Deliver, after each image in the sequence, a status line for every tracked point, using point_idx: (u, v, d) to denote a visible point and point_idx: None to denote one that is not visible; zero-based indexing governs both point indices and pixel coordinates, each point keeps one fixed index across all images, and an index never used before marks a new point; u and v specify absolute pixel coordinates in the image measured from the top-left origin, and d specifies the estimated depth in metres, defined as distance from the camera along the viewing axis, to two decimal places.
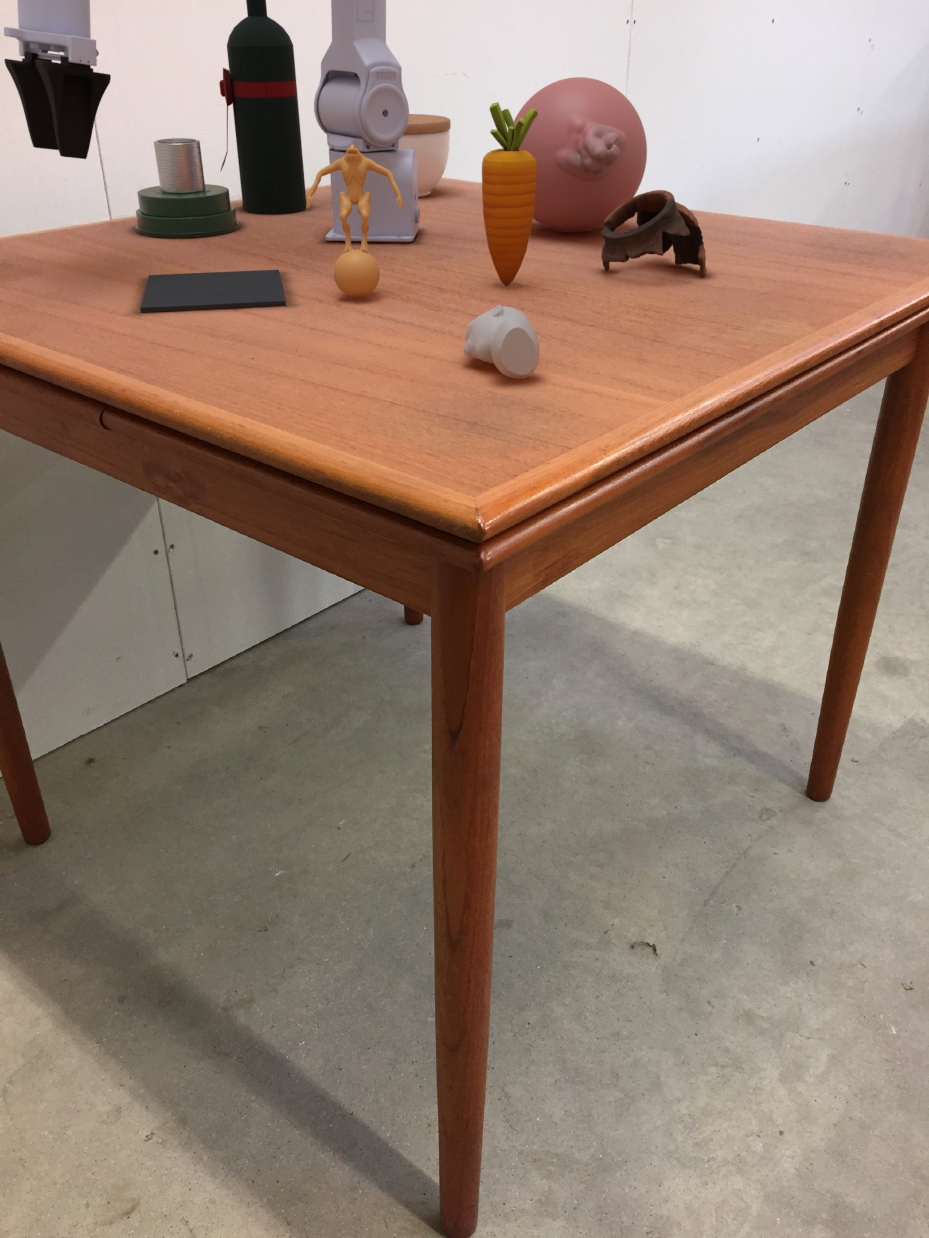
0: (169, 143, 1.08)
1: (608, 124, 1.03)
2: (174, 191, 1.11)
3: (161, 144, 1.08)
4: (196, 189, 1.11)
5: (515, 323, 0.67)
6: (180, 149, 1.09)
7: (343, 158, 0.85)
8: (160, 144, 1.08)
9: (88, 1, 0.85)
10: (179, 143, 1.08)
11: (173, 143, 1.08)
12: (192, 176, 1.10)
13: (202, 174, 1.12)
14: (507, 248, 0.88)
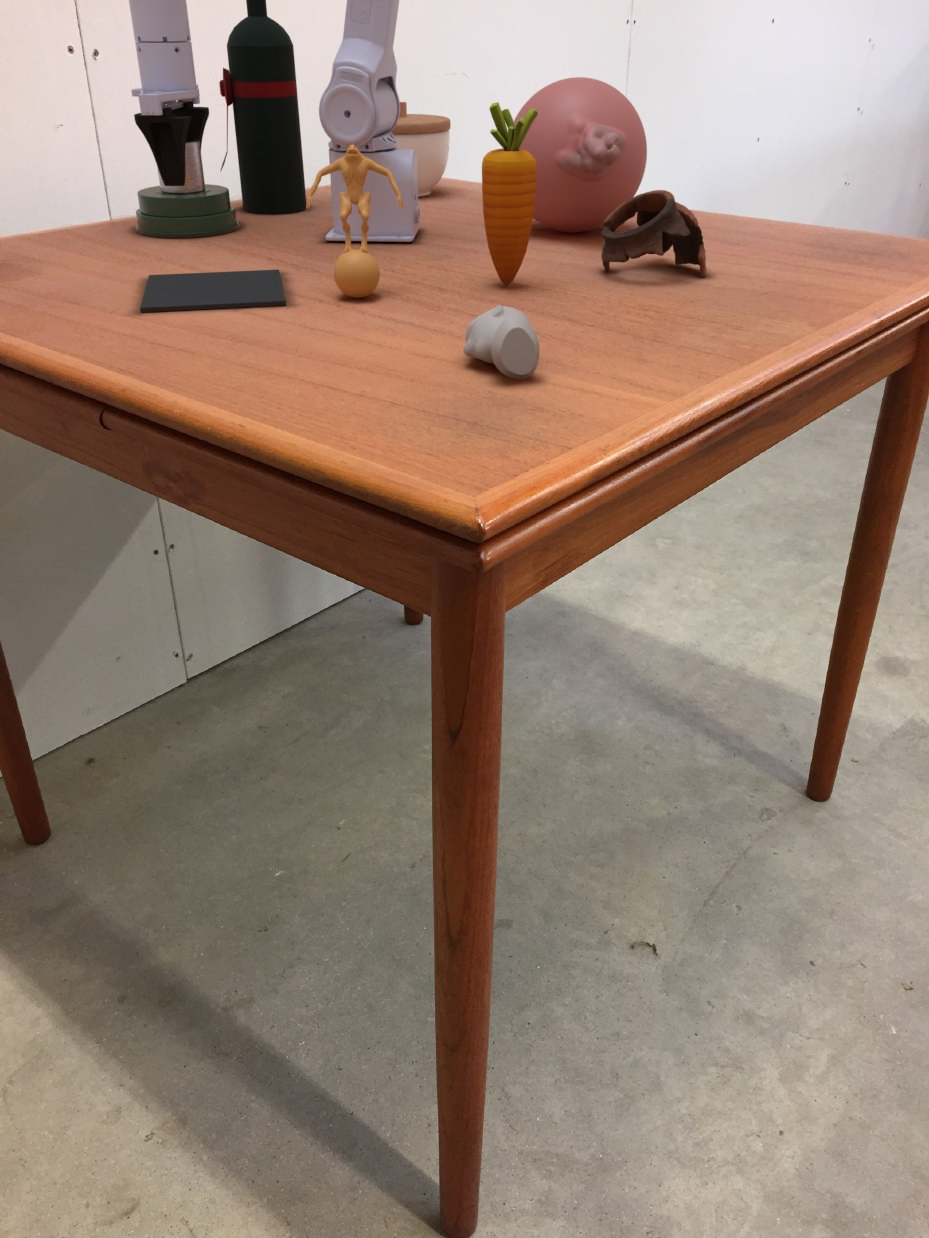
0: None
1: (608, 124, 1.03)
2: (174, 191, 1.11)
3: None
4: (196, 189, 1.11)
5: (515, 323, 0.67)
6: None
7: (343, 158, 0.85)
8: None
9: (183, 58, 1.05)
10: None
11: None
12: (192, 176, 1.10)
13: (202, 174, 1.12)
14: (507, 248, 0.88)
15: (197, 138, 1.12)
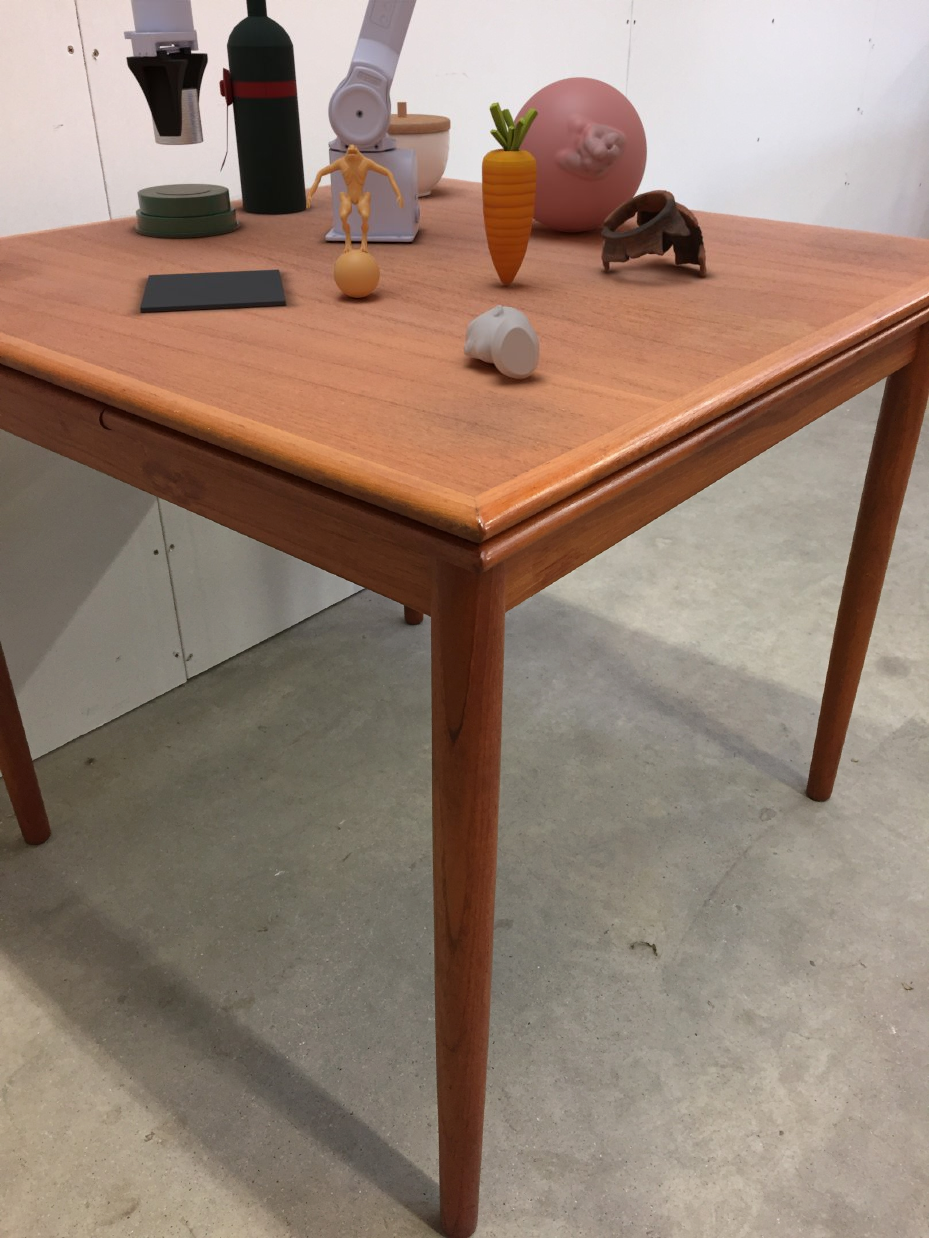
0: None
1: (608, 124, 1.03)
2: (169, 142, 1.03)
3: None
4: (193, 140, 1.04)
5: (515, 323, 0.67)
6: None
7: (343, 158, 0.85)
8: None
9: None
10: None
11: None
12: (189, 126, 1.03)
13: (200, 125, 1.04)
14: (507, 248, 0.88)
15: (195, 86, 1.05)
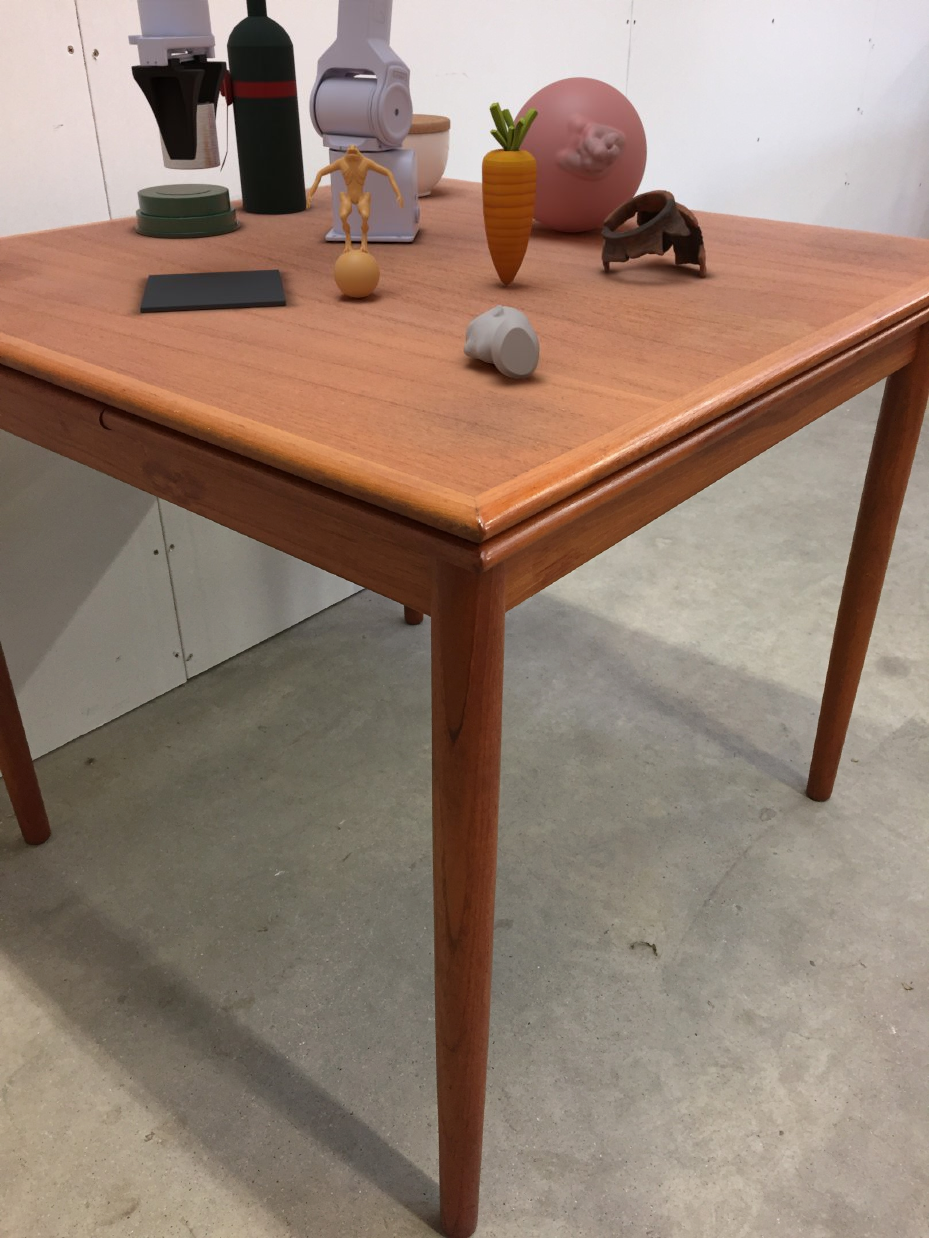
0: None
1: (608, 124, 1.03)
2: (181, 167, 0.87)
3: None
4: (209, 164, 0.88)
5: (515, 323, 0.67)
6: None
7: (343, 158, 0.85)
8: None
9: None
10: None
11: None
12: (204, 148, 0.87)
13: (216, 146, 0.88)
14: (507, 248, 0.88)
15: (211, 100, 0.89)
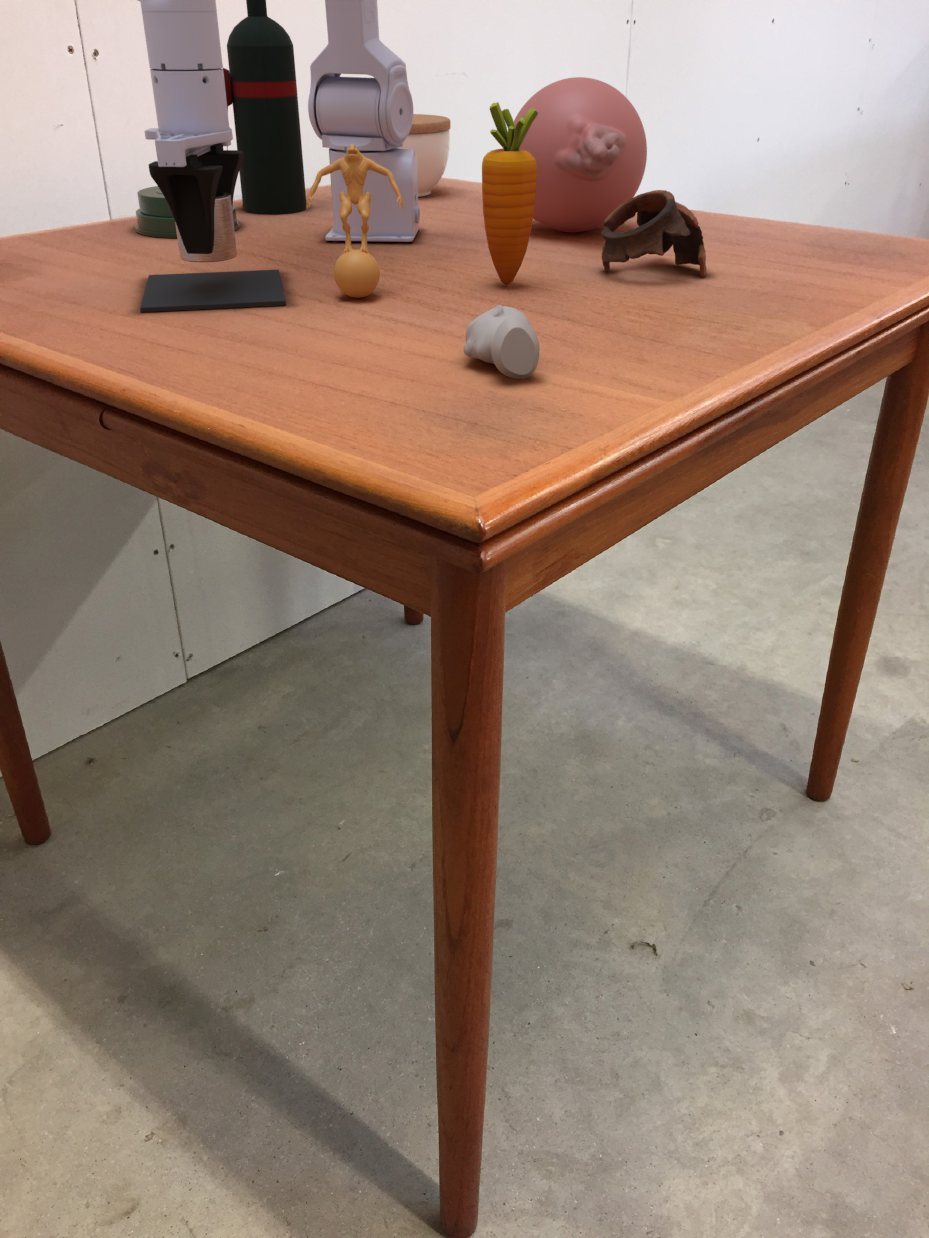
0: None
1: (608, 124, 1.03)
2: (198, 259, 0.86)
3: None
4: (226, 256, 0.87)
5: (515, 323, 0.67)
6: None
7: (343, 158, 0.85)
8: None
9: (212, 91, 0.80)
10: None
11: None
12: (221, 240, 0.86)
13: (233, 237, 0.87)
14: (507, 248, 0.88)
15: (228, 190, 0.88)
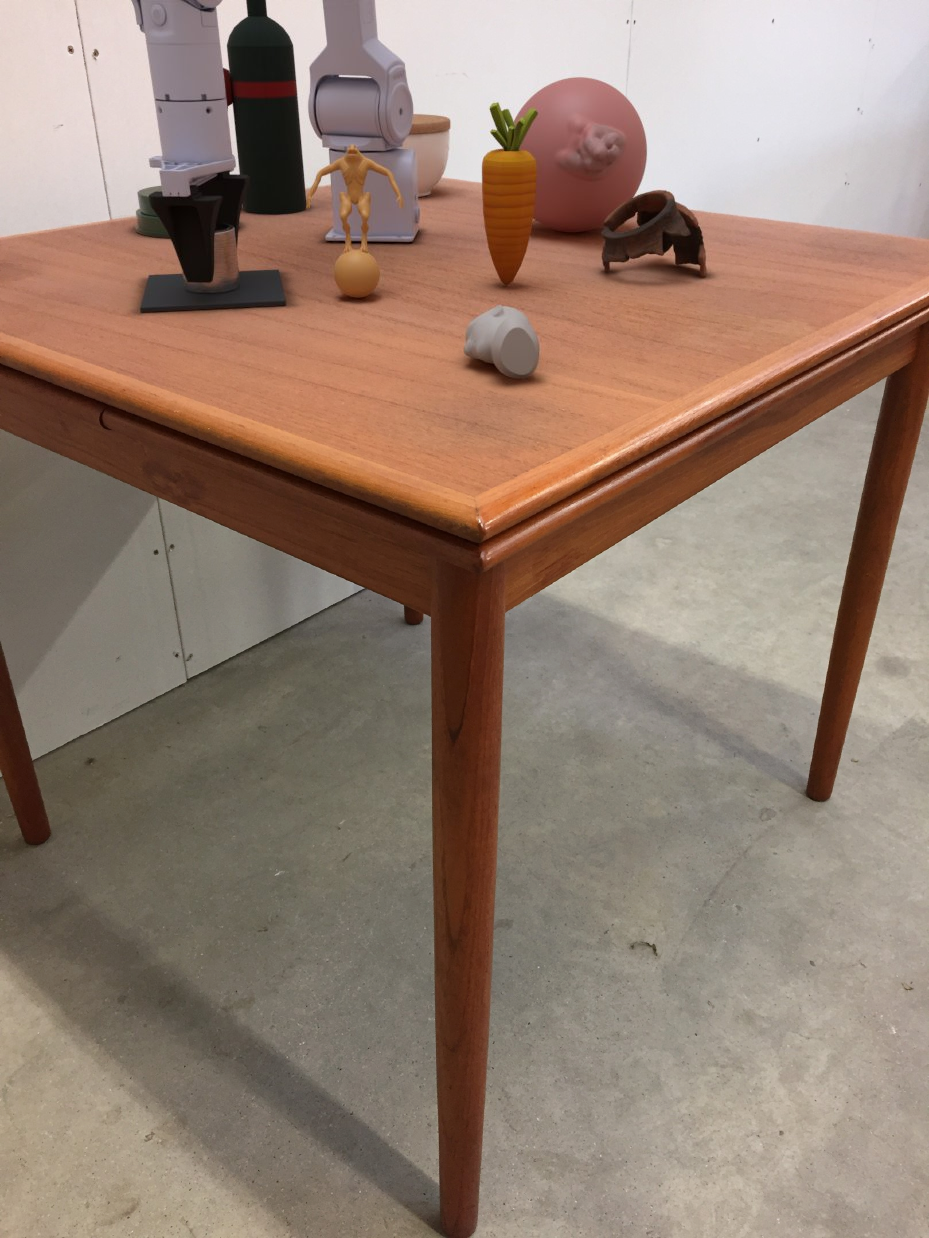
0: None
1: (608, 124, 1.03)
2: (202, 291, 0.87)
3: None
4: (230, 288, 0.88)
5: (515, 323, 0.67)
6: None
7: (343, 158, 0.85)
8: None
9: (216, 121, 0.81)
10: None
11: None
12: (225, 272, 0.87)
13: (237, 268, 0.88)
14: (507, 248, 0.88)
15: (234, 214, 0.90)
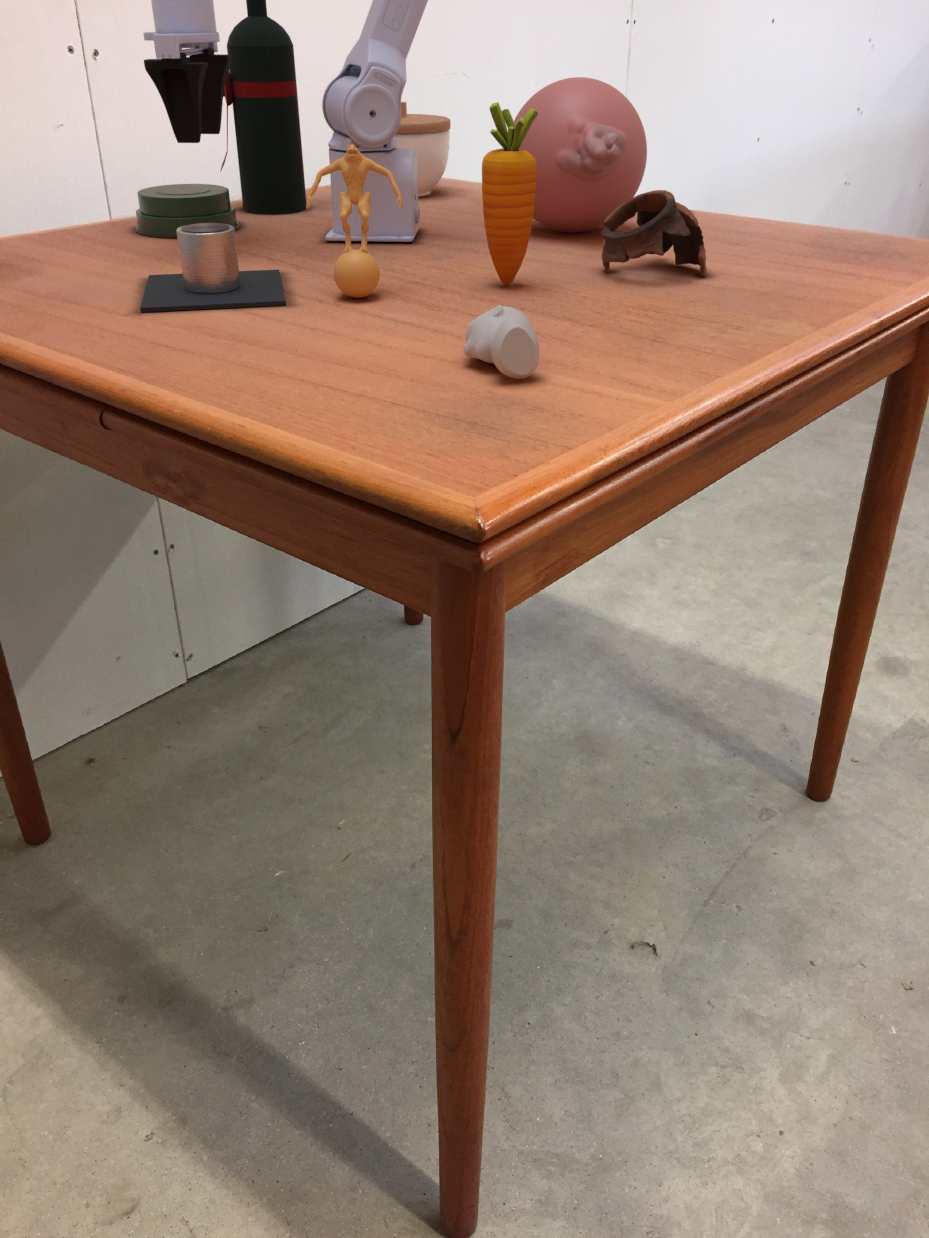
0: (196, 233, 0.85)
1: (608, 124, 1.03)
2: (202, 291, 0.87)
3: (186, 234, 0.85)
4: (230, 288, 0.88)
5: (515, 323, 0.67)
6: (210, 240, 0.85)
7: (343, 158, 0.85)
8: (185, 234, 0.85)
9: None
10: (209, 233, 0.85)
11: (201, 233, 0.85)
12: (225, 272, 0.87)
13: (237, 268, 0.88)
14: (507, 248, 0.88)
15: (219, 89, 1.02)
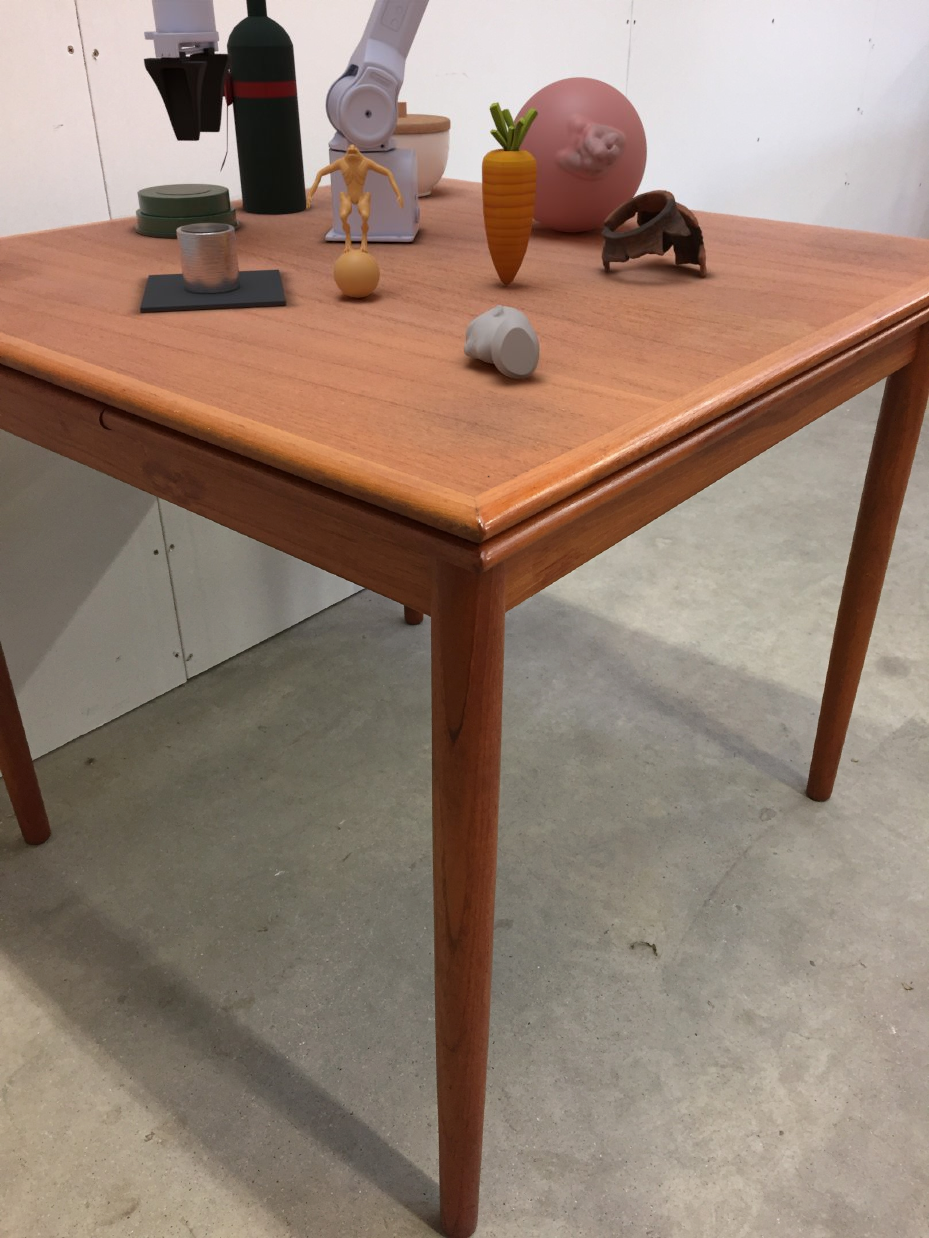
0: (196, 233, 0.85)
1: (608, 124, 1.03)
2: (202, 291, 0.87)
3: (186, 234, 0.85)
4: (230, 288, 0.88)
5: (515, 323, 0.67)
6: (210, 240, 0.85)
7: (343, 158, 0.85)
8: (185, 234, 0.85)
9: None
10: (209, 233, 0.85)
11: (201, 233, 0.85)
12: (225, 272, 0.87)
13: (237, 268, 0.88)
14: (507, 248, 0.88)
15: (219, 87, 1.03)
